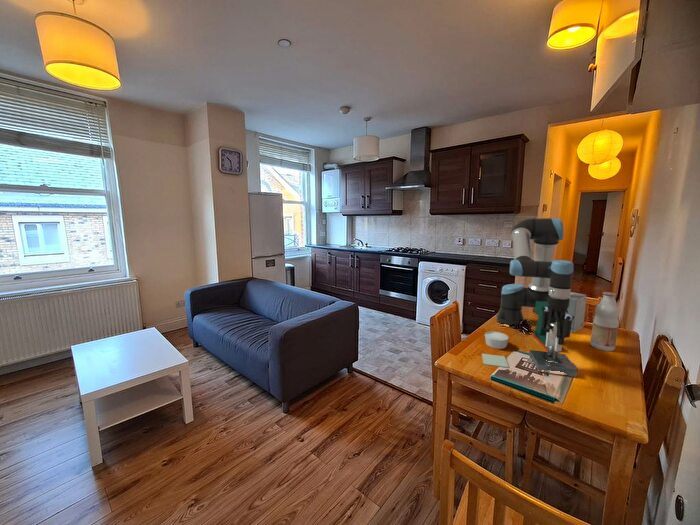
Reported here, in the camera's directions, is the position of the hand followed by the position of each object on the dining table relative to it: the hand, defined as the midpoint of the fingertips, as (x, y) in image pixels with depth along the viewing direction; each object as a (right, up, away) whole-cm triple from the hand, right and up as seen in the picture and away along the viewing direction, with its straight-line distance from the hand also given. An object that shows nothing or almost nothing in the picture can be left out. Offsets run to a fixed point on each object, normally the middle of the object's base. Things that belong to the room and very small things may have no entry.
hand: (553, 348), depth 127 cm
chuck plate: (0, -8, +2) cm, 9 cm away
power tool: (+12, -6, +17) cm, 22 cm away
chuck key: (0, -4, +1) cm, 4 cm away
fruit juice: (+38, -5, +19) cm, 43 cm away
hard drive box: (+40, -1, +42) cm, 58 cm away
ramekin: (-14, -5, +23) cm, 27 cm away
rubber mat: (-22, -8, +7) cm, 25 cm away
